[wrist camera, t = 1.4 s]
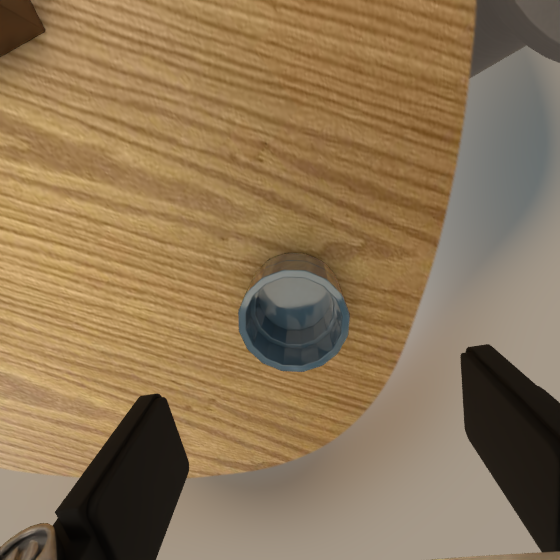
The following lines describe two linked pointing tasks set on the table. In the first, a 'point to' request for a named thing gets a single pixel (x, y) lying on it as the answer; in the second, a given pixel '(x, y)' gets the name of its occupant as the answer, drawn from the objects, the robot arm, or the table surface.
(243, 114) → the table surface
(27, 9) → the stand
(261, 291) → the small cup
